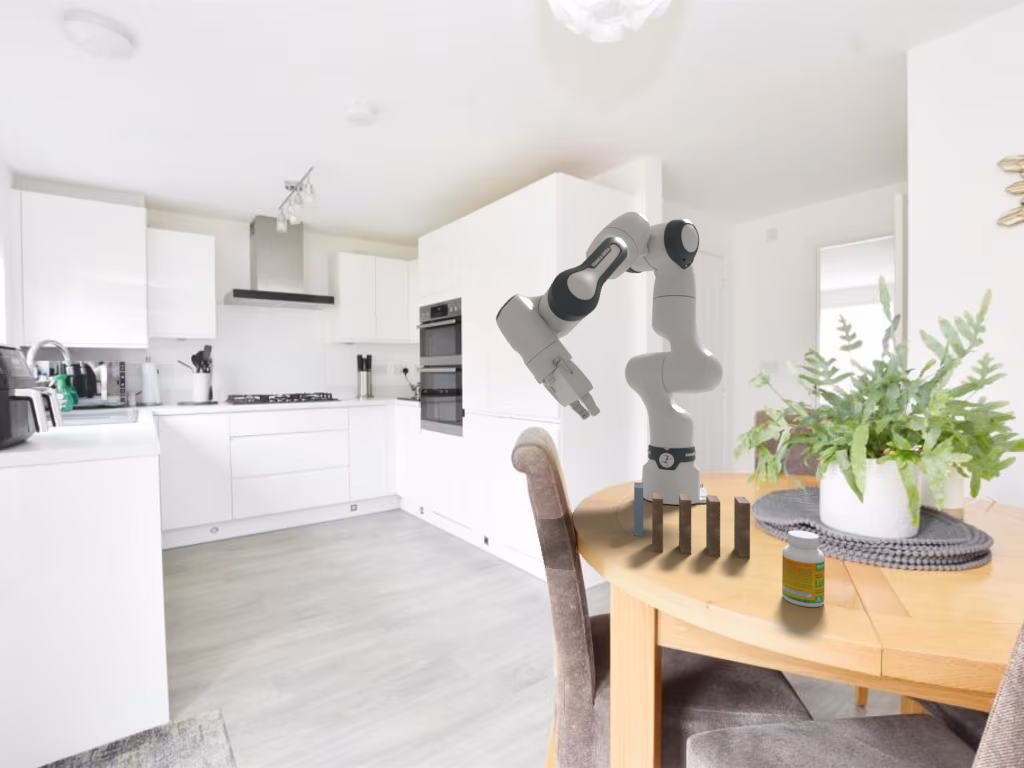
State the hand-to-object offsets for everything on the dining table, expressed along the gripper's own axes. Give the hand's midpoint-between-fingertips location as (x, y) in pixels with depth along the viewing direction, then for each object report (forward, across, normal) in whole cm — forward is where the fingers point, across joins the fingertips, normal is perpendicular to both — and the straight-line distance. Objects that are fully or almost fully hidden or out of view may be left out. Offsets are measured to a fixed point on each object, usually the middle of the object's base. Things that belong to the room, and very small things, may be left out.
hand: (591, 416), depth 108 cm
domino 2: (+27, -6, +7) cm, 28 cm away
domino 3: (+30, -7, +3) cm, 31 cm away
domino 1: (+25, +4, +6) cm, 26 cm away
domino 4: (+33, -9, 0) cm, 34 cm away
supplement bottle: (+38, -30, -1) cm, 48 cm away
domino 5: (+36, -10, -4) cm, 38 cm away
